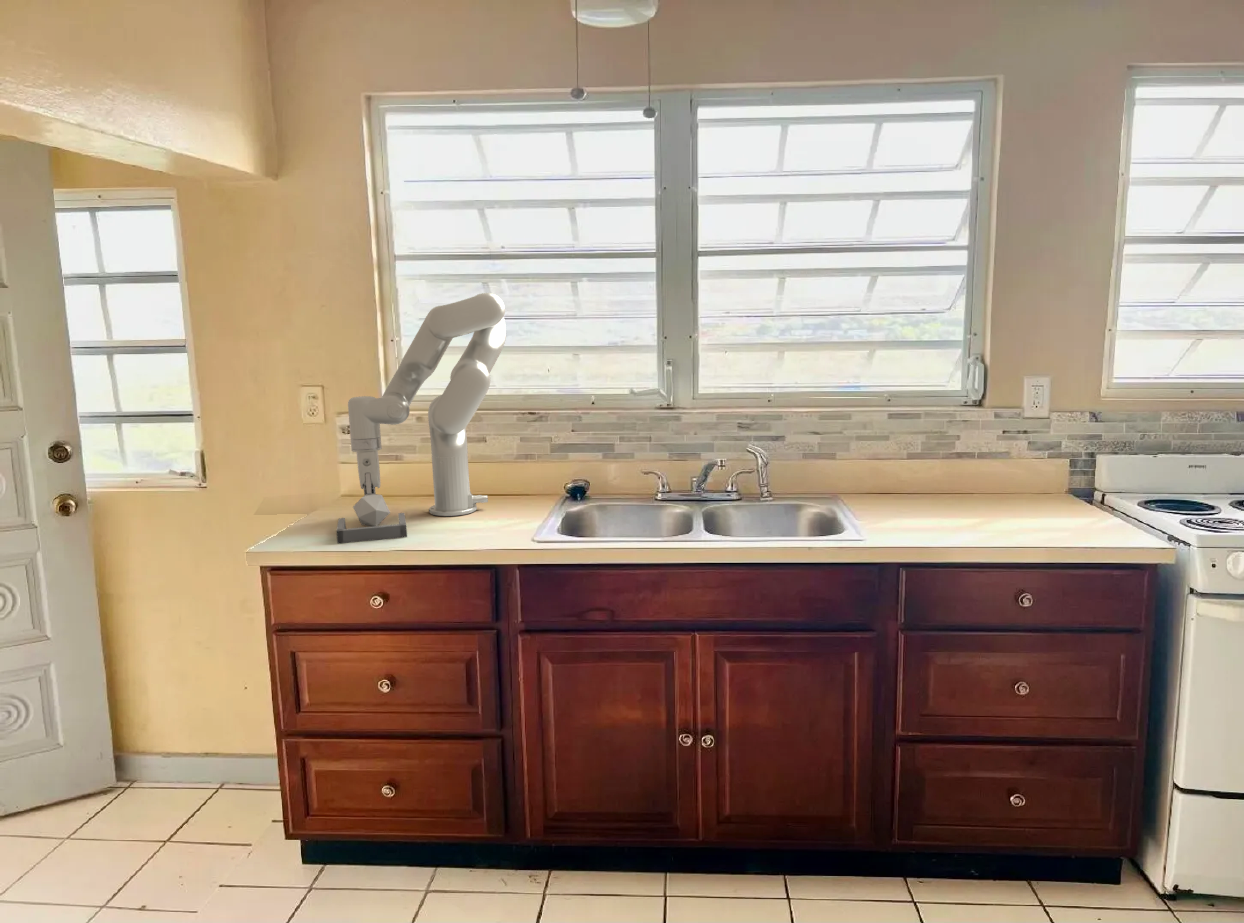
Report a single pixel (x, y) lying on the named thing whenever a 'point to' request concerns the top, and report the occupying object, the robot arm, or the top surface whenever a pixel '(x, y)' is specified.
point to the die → (371, 509)
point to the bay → (371, 531)
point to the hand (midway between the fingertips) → (371, 512)
